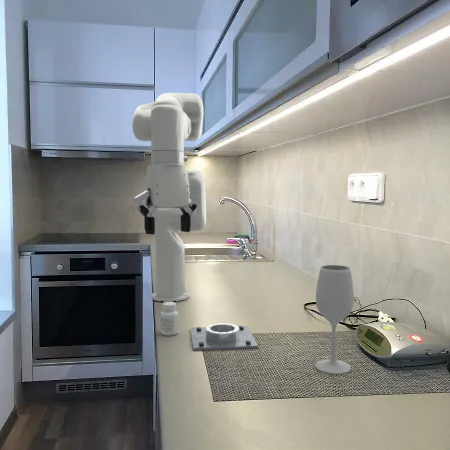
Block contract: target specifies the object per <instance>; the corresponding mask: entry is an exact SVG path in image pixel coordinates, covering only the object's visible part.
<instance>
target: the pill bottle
mask: <svg viewBox="0 0 450 450" xmlns="http://www.w3.org/2000/svg"><path fill="white" fill-rule="evenodd" d="M161 306H162V311H161V312H160V334H161V335H162V336H175V335H177V334H178V333H179V312H178V311H177V310H176V309H177V303H176V302H162V305H161Z"/></svg>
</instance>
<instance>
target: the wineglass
mask: <svg viewBox="0 0 450 450" xmlns="http://www.w3.org/2000/svg"><path fill="white" fill-rule="evenodd" d="M353 283H354V282H353V276H352V270H351V267H349V266H345V265H340V264H326V265H321V266H320V269H319V272H318V278H317V283H316V290H315V305H316V308H317V311H318V312H319V313H320V314H321V315H322V316H323V318H324V319H326V321H328V322H329V324H330V326H331V354H330V355H331V356H330V359H322V360H318V361H317V362H316V363H315V364H314V365H315V369H316V370H318V371H320V372H322V373H325V374H330V375H344V374H347V373H349V372H350V371H351V369H352V368H351V366H350V364H348V363H347V362H345V361H342V360H338V359H337V358H336V333H337V332H336V329H337V327H338V324H339V323H341V322H342V321H343V320H344V319H346V318H347V317H348V316H349V315H350V314H351V312H352V310H353V309H354V302H355V301H354V300H355V295H354V293H355V292H354V284H353Z"/></svg>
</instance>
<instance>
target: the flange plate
mask: <svg viewBox="0 0 450 450" xmlns="http://www.w3.org/2000/svg"><path fill="white" fill-rule="evenodd" d="M237 326H238V327H239V338H238V339H236V340H233V341H229V342H217V341H211V340H209V339H207V338H206V327H207V326H203V327H200V326H199V327H190V333H191V341H192V351H218V350H219V351H220V350H221V351H222V350H223V349H225V350H245V349H249V350H250V349H258V348H259V345H258V343H257V341H256V339H255V336H254V335H253V333H252V331H251V329H250V327H249V326H248V325H237ZM239 348H241V349H239ZM242 348H243V349H242Z"/></svg>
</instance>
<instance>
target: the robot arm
mask: <svg viewBox="0 0 450 450" xmlns="http://www.w3.org/2000/svg"><path fill="white" fill-rule="evenodd" d="M203 103H204V102H203V100H202V98H201V96H200V95H199V94H197V93H194V92H193V93H191V92H189V93H188V92H165V93H162V94H160V95H159V96H157V98H156V99H155V100H154V101H153V102H149V103H144V104H140V105H138V106H137V107H136V109H135V111H134V113H133V117H132V132H133V134H134V137H135V138H136V139H137V140H138V141H141V142H150V151H151V152H150V154H151V155H150V156H151V157H150V158H151V160H150V161H151V164H150V165H148V166H147V169H146V174H145V179H144V180H145V181H144V191H143V192H141V193H140V194H137V195H136V196H135V197H133V199H132V200H133V201H134V204H135V206H136V209H137V211H139V213H140V214H141V216H142V217H143V218H144V220H143V221H144V222H143V223H144V228H143V229H144V231H145V234H146V235H151V236H152V235H154V242H155V243H154V245H155V247H154V248H155V292H152V293H151V295H150V297H151V298H150V299H152V300H153V301H156V302H161V301H163V302H162V303H165V302H173V301H176V302H183V301H187V300H188V299H190V293H189V291H186V287H185V284H186V283H185V282H186V281H185V280H186V275H185V274H186V271H185V270H186V269H185V268H186V267H185V266H186V264H185V261H186V259H185V253H186V251H185V243H184V241H183V239H182V238H181V237H180V236H179V235H178V234H177V233H180V232H182V233H190V232H200V231H203V230H204V229H205V227H206V224H207V203H206V201H207V200H206V199H207V196H206V191H207V190H206V179H205V176H204V174H203V173H202V172H201V170H197V169H187V166H186V165H184V164H185V162H187V161H188V156H187V155H185V152H184V151H185V150H184V149H185V147H184V145H185V143H184V142H194V141H195V142H196V141H198V140H199V139H200V138H201V137H202V134H203V123H204V111H205V110H204V104H203ZM143 201H144V202H143ZM182 300H183V301H182Z"/></svg>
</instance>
